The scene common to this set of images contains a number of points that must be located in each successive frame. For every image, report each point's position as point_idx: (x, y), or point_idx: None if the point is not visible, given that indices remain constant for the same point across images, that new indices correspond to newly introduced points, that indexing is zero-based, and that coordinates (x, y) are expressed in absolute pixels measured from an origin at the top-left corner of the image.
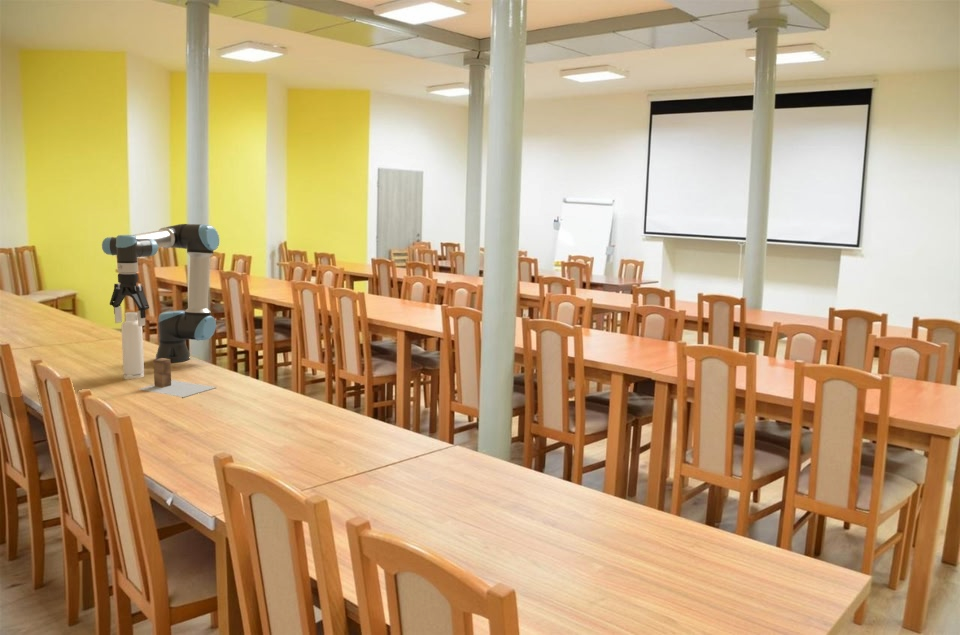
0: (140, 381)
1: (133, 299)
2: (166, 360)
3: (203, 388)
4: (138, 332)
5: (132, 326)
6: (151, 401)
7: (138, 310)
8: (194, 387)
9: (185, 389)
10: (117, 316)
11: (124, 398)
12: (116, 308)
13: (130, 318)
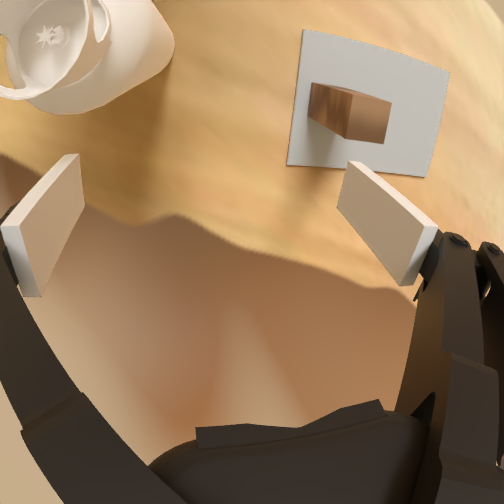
0: (208, 77)
1: (405, 386)
2: (387, 121)
3: (432, 91)
4: (158, 37)
5: (134, 78)
6: None
7: (416, 298)
8: (410, 88)
9: (402, 114)
10: (65, 221)
11: (311, 236)
12: (40, 280)
13: (82, 73)
